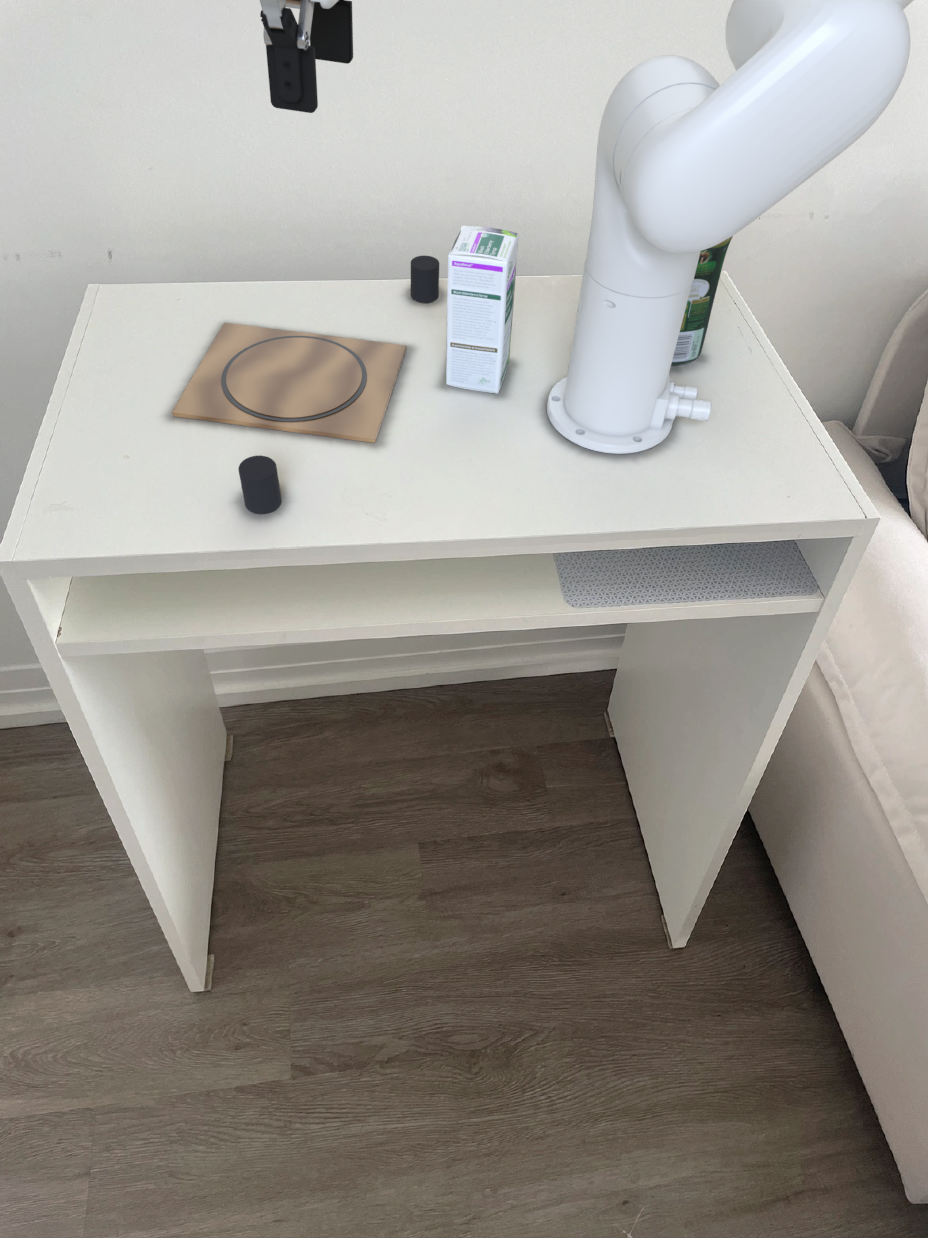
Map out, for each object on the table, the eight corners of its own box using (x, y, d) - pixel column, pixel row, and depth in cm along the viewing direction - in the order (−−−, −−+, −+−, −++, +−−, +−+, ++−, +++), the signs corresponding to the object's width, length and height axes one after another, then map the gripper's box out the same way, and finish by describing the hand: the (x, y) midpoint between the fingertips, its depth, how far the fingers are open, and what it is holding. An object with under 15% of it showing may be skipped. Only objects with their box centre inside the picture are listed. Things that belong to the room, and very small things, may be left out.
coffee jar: (614, 320, 102) (647, 149, 88) (681, 318, 103) (725, 148, 89) (636, 371, 96) (675, 196, 82) (707, 368, 97) (759, 194, 83)
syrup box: (499, 395, 92) (511, 260, 81) (443, 386, 93) (447, 251, 82) (509, 363, 96) (522, 230, 85) (454, 355, 97) (460, 221, 85)
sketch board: (406, 349, 97) (406, 343, 96) (375, 443, 87) (374, 437, 86) (224, 326, 98) (223, 320, 98) (172, 416, 88) (170, 410, 87)
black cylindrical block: (285, 492, 82) (280, 457, 78) (275, 516, 80) (270, 482, 76) (251, 487, 82) (244, 453, 79) (240, 511, 80) (233, 477, 77)
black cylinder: (440, 289, 105) (441, 257, 102) (436, 304, 103) (436, 271, 100) (413, 286, 105) (413, 253, 102) (408, 301, 103) (408, 267, 100)
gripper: (319, -206, 47) (333, 138, 60) (393, -248, 58) (391, 50, 71) (180, -223, 48) (223, 122, 61) (280, -262, 59) (298, 37, 72)
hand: (314, 83), depth 66 cm, fingers open, 9 cm apart
